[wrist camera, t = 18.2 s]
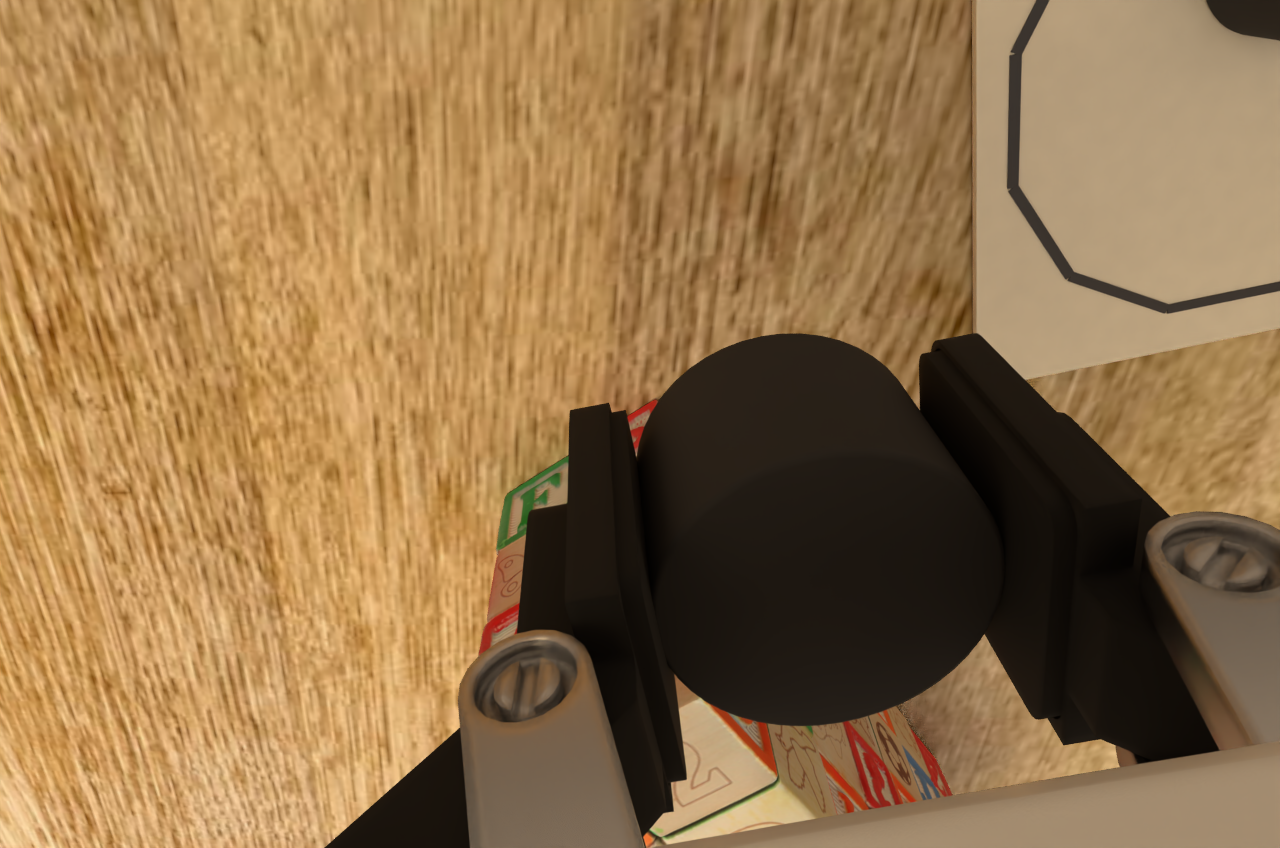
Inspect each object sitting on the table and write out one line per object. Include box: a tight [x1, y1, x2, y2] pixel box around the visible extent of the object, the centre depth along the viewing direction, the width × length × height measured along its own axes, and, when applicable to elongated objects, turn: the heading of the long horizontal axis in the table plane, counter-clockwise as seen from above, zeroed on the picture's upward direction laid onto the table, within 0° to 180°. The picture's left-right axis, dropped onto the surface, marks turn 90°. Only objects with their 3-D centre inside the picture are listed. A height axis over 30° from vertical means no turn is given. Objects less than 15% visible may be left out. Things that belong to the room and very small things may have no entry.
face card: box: [972, 0, 1280, 380], centre depth 23 cm, size 16×15×1 cm
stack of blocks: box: [479, 400, 952, 848], centre depth 27 cm, size 21×6×12 cm, turn 35°
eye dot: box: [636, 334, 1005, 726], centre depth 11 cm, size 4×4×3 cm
